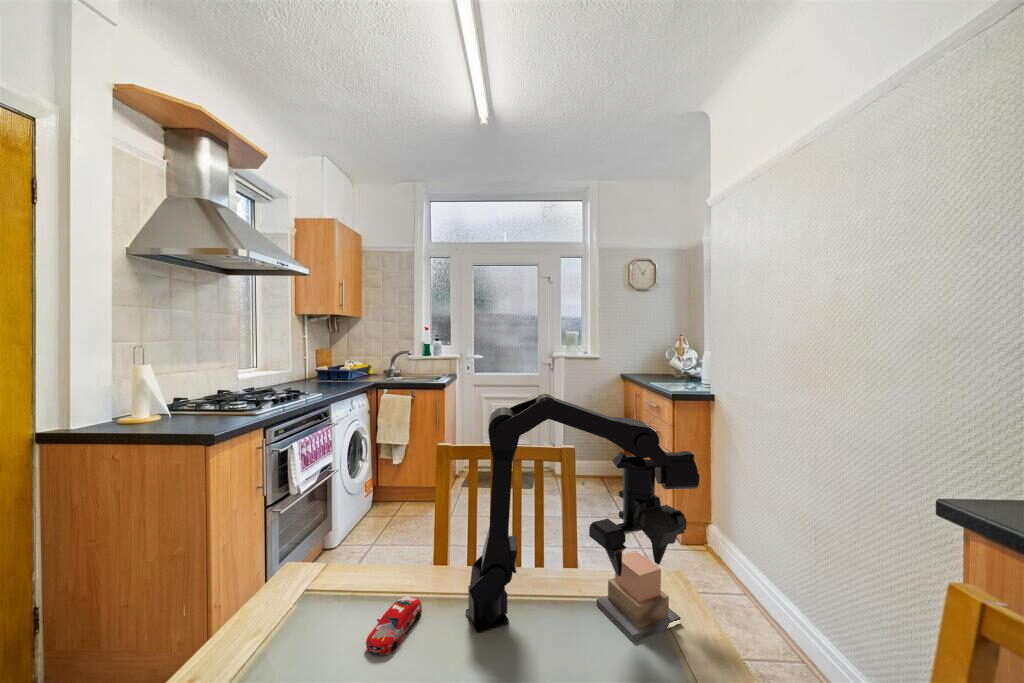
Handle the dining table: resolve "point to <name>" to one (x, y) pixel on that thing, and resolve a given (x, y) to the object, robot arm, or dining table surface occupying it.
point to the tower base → (629, 625)
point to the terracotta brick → (639, 577)
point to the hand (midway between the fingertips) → (638, 569)
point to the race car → (394, 626)
